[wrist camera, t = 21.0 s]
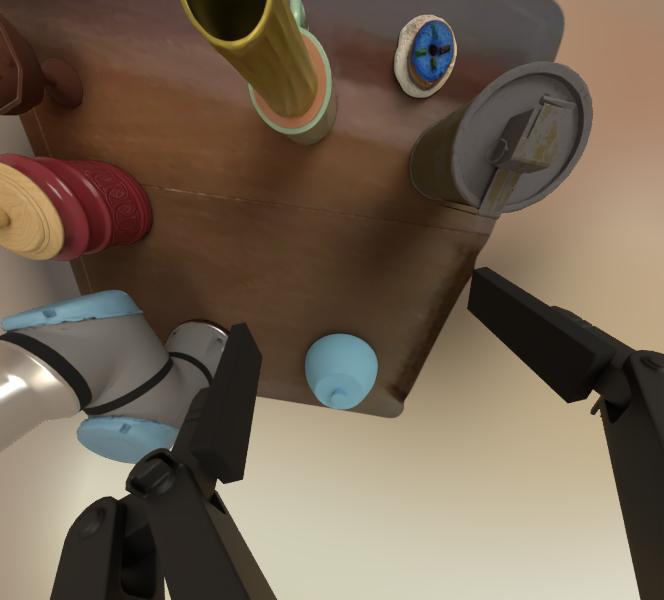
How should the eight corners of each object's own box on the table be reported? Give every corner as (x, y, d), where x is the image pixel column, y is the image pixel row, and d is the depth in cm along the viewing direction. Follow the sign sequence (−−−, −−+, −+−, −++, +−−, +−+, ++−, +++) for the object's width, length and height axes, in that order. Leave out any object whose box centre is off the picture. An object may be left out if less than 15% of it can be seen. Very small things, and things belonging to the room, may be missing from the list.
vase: (248, 82, 26) (143, -18, 13) (286, 24, 23) (206, -167, 11) (291, 132, 27) (235, 87, 14) (330, 82, 25) (306, -23, 12)
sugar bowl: (322, 317, 48) (314, 355, 38) (389, 345, 50) (398, 387, 40) (297, 369, 55) (285, 413, 44) (357, 392, 56) (358, 439, 46)
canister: (424, 109, 33) (509, 23, 15) (498, 126, 33) (671, 61, 15) (398, 195, 38) (440, 207, 20) (463, 209, 38) (562, 234, 20)
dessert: (461, 86, 31) (445, 76, 27) (412, 109, 35) (392, 103, 31) (460, 2, 28) (442, -22, 24) (406, 38, 32) (384, 22, 29)
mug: (273, 141, 36) (248, 129, 27) (271, 28, 30) (240, -31, 22) (333, 148, 36) (327, 137, 27) (342, 34, 30) (338, -23, 22)
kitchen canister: (137, 159, 38) (-16, 142, 22) (165, 241, 44) (59, 274, 28) (63, 163, 39) (-131, 151, 24) (100, 243, 45) (-37, 276, 29)
